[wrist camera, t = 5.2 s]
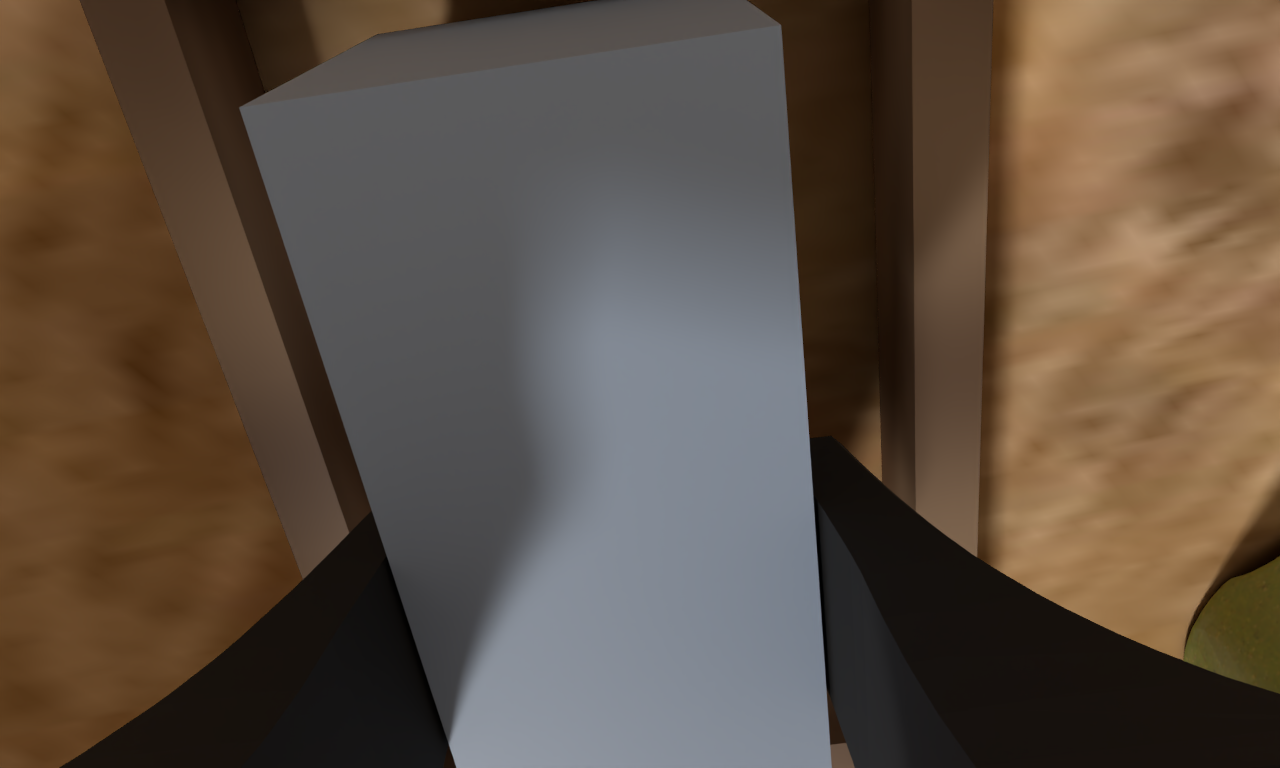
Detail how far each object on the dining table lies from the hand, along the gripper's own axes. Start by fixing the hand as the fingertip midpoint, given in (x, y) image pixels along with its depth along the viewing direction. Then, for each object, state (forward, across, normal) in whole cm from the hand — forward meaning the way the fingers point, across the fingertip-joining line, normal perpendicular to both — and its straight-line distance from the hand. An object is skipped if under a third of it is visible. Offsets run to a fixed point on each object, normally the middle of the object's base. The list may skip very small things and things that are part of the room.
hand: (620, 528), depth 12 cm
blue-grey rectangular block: (+3, 0, 0) cm, 3 cm away
